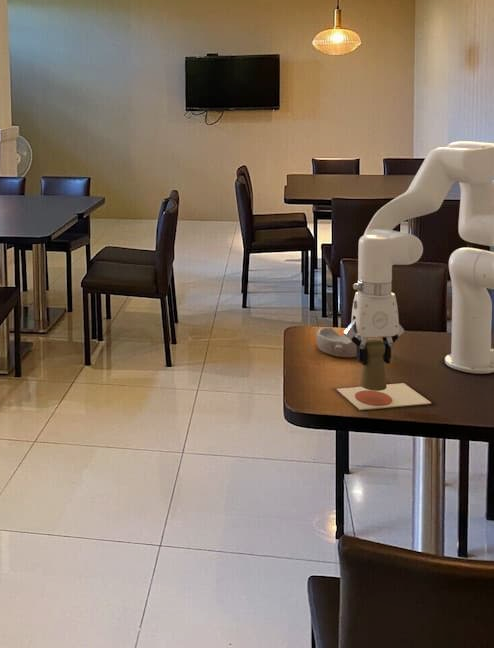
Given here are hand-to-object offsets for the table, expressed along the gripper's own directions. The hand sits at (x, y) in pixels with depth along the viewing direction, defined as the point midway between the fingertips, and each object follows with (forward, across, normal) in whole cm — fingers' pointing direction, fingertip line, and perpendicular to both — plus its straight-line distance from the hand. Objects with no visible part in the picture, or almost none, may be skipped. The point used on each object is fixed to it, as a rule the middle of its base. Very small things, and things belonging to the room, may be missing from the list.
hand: (373, 361), depth 174 cm
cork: (+6, 0, 0) cm, 6 cm away
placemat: (+9, +3, +1) cm, 10 cm away
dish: (+9, +8, +32) cm, 34 cm away
